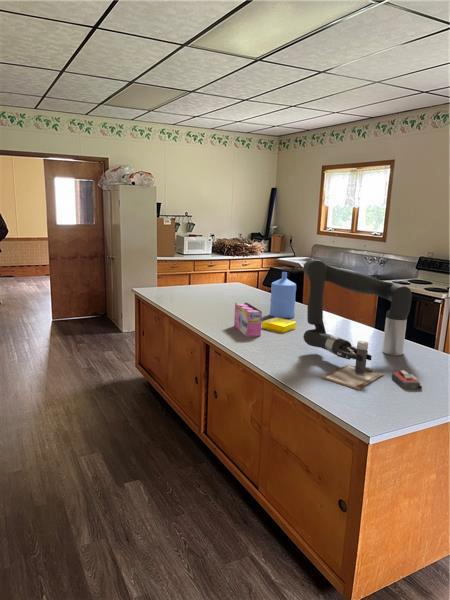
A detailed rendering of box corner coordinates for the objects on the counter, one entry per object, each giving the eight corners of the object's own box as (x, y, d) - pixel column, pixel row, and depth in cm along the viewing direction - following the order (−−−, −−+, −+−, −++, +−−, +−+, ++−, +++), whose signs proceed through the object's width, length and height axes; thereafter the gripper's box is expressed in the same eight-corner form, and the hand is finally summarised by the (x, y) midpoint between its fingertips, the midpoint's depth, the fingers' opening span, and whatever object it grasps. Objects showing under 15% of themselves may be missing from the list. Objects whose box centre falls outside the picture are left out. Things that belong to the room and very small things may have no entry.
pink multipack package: (232, 325, 251) (233, 302, 248) (245, 324, 253) (246, 302, 251) (247, 337, 229) (248, 311, 226) (261, 336, 231) (262, 311, 228)
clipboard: (347, 365, 191) (348, 361, 190) (383, 375, 180) (383, 371, 180) (321, 378, 175) (321, 374, 175) (358, 390, 164) (359, 386, 164)
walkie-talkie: (427, 391, 166) (403, 372, 186) (428, 380, 165) (404, 362, 185) (404, 391, 166) (383, 372, 185) (406, 380, 165) (384, 362, 184)
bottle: (357, 371, 182) (360, 340, 179) (366, 374, 179) (370, 342, 176) (352, 373, 179) (355, 342, 176) (362, 376, 176) (365, 344, 173)
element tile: (283, 334, 238) (283, 325, 237) (260, 328, 247) (260, 320, 246) (297, 328, 250) (297, 320, 249) (274, 324, 259) (275, 316, 258)
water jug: (293, 319, 269) (296, 274, 263) (268, 317, 272) (270, 273, 266) (294, 314, 284) (297, 271, 278) (270, 312, 287) (273, 269, 281)
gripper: (325, 339, 186) (353, 351, 171) (351, 336, 192) (380, 347, 177) (324, 356, 188) (352, 369, 173) (350, 353, 194) (378, 365, 179)
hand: (366, 358), depth 175 cm, fingers closed on bottle, 4 cm apart
